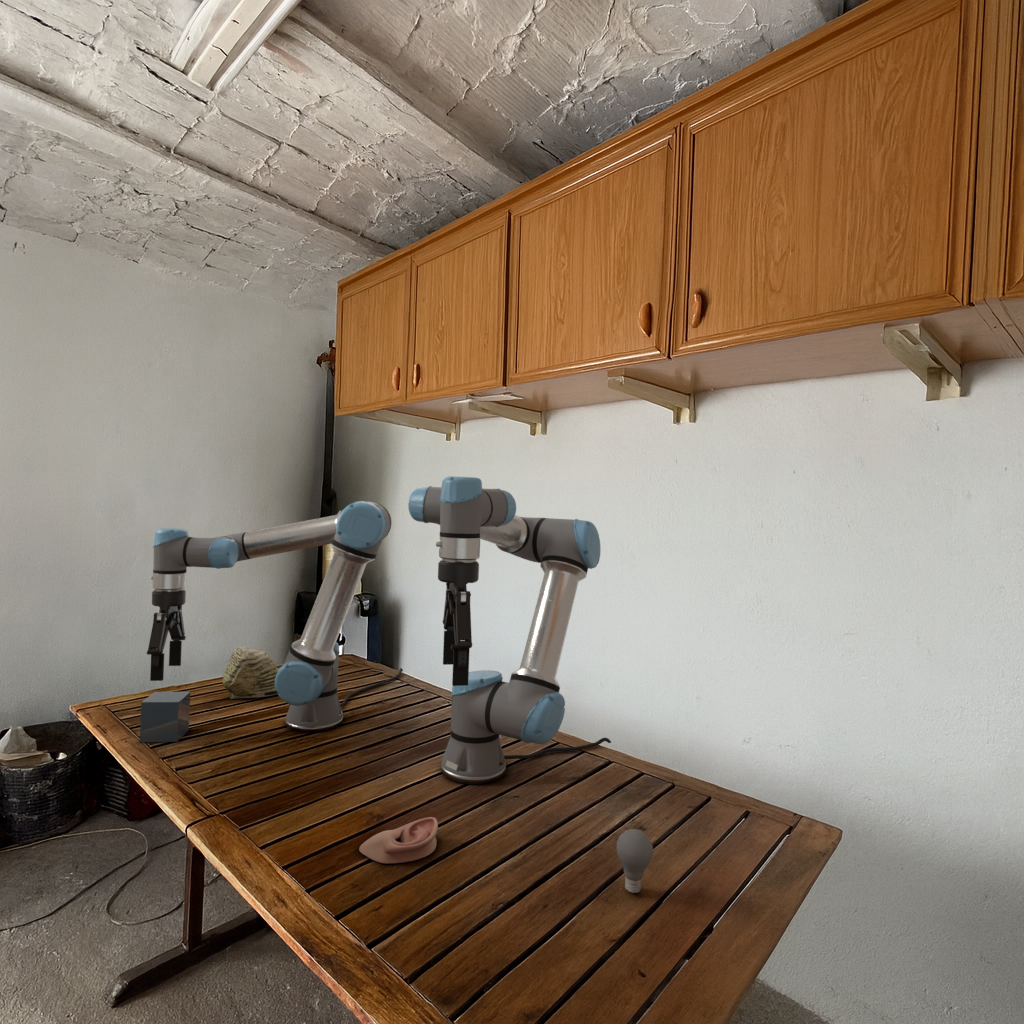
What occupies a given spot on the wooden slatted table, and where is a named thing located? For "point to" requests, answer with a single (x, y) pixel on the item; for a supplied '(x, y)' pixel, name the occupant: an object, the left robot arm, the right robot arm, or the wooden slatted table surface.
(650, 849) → the light bulb
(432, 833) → the anatomical model
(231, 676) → the fossil
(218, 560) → the left robot arm
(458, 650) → the right robot arm
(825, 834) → the wooden slatted table surface
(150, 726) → the block
